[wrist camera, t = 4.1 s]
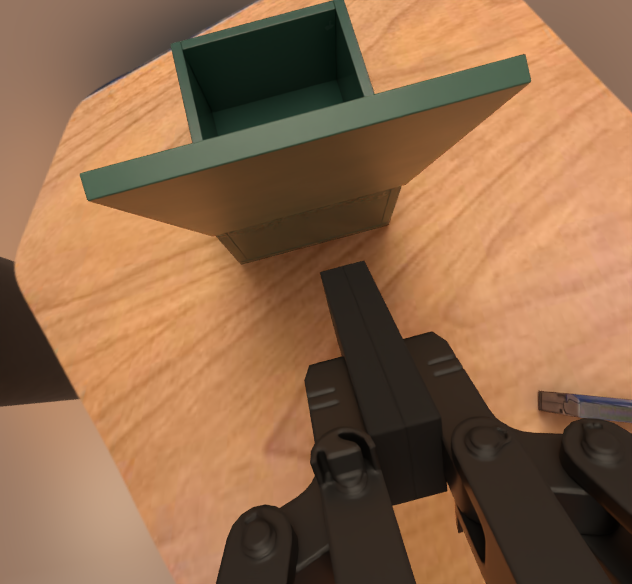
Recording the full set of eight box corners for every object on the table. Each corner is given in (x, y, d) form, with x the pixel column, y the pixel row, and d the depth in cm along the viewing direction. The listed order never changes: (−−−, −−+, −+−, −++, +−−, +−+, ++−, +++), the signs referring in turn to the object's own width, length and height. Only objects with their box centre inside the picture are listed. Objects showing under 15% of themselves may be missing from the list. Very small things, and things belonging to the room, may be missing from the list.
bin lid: (78, 173, 13) (86, 201, 13) (526, 52, 13) (532, 81, 13) (208, 224, 29) (212, 236, 29) (403, 172, 29) (405, 184, 29)
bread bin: (205, 112, 41) (170, 43, 33) (342, 76, 41) (343, -3, 33) (240, 264, 38) (212, 232, 30) (388, 225, 38) (403, 181, 30)
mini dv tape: (643, 401, 34) (706, 407, 28) (644, 420, 34) (708, 430, 28) (538, 390, 35) (578, 394, 29) (537, 409, 35) (578, 417, 29)
